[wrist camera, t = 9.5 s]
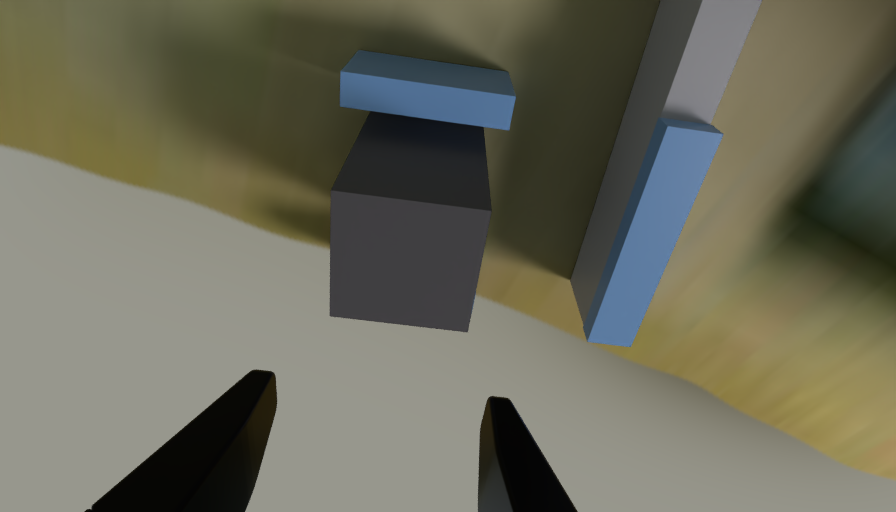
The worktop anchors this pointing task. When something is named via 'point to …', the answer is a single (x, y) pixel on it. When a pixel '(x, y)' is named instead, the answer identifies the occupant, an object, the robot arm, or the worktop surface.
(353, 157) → the dark grey rectangular block
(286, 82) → the worktop surface
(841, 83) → the worktop surface
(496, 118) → the grey and blue blocks
